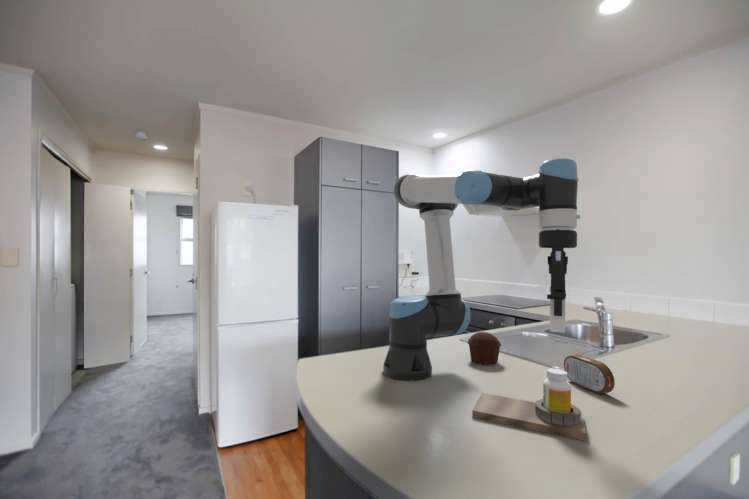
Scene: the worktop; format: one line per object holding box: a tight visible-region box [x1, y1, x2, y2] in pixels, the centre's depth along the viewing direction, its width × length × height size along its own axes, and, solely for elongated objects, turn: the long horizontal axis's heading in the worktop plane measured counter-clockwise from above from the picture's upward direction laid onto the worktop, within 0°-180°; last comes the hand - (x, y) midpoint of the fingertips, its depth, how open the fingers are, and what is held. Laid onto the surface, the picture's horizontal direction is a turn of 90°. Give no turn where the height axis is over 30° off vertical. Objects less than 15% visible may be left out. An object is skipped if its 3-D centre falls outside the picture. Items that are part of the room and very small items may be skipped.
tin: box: [563, 353, 616, 395], centre depth 99 cm, size 15×3×8 cm, turn 15°
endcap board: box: [471, 392, 587, 442], centre depth 79 cm, size 22×12×4 cm, turn 64°
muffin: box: [467, 331, 502, 366], centre depth 123 cm, size 12×11×10 cm
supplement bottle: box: [542, 368, 572, 413], centre depth 77 cm, size 5×5×10 cm
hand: (556, 326), depth 77 cm, fingers open, 13 cm apart
